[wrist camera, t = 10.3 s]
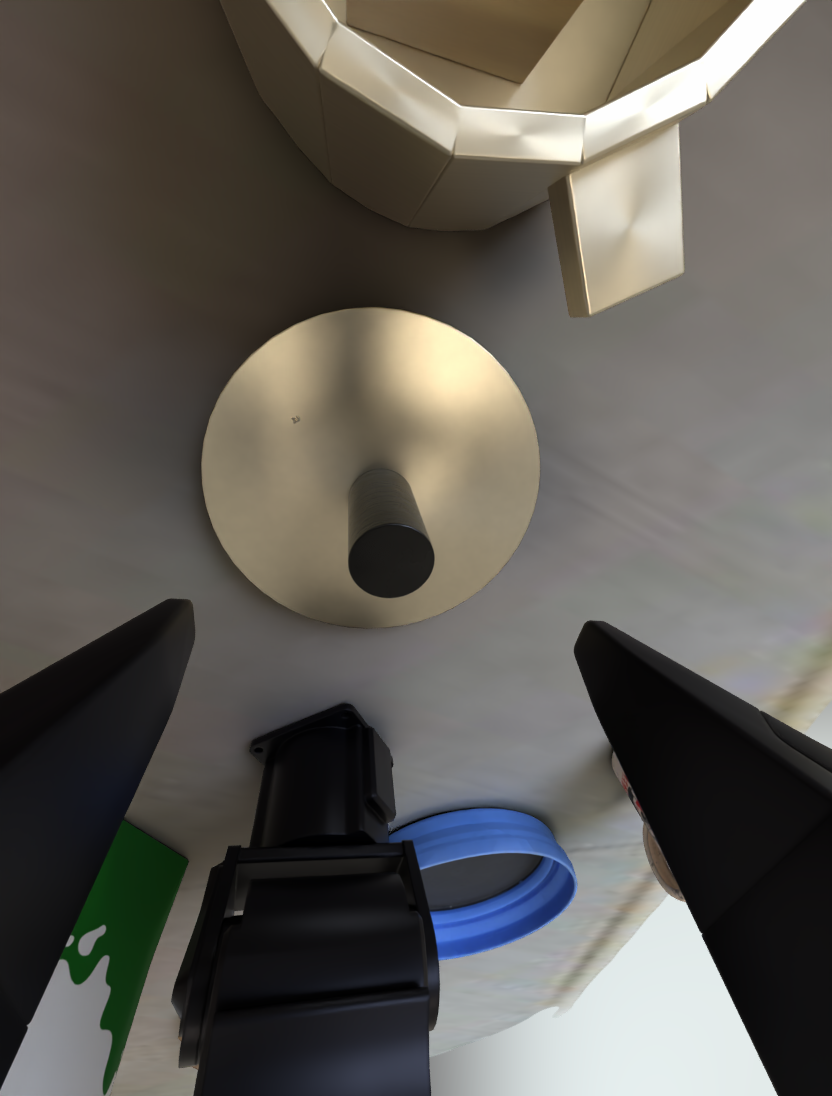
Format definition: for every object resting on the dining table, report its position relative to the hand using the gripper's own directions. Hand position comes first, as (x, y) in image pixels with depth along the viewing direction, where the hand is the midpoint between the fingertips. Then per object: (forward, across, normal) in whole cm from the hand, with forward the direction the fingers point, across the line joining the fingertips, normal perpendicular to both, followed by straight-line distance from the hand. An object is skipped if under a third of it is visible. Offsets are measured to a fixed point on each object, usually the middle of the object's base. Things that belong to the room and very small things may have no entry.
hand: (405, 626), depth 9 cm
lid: (+9, 0, 0) cm, 9 cm away
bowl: (+10, -11, +32) cm, 36 cm away
